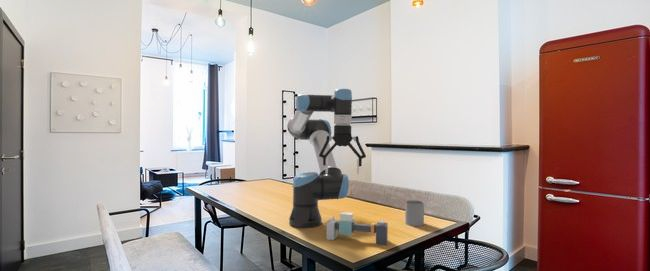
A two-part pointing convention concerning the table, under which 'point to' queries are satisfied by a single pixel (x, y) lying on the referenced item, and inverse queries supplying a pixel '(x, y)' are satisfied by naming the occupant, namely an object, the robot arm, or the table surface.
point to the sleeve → (346, 223)
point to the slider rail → (361, 230)
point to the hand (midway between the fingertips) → (342, 173)
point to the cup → (414, 213)
